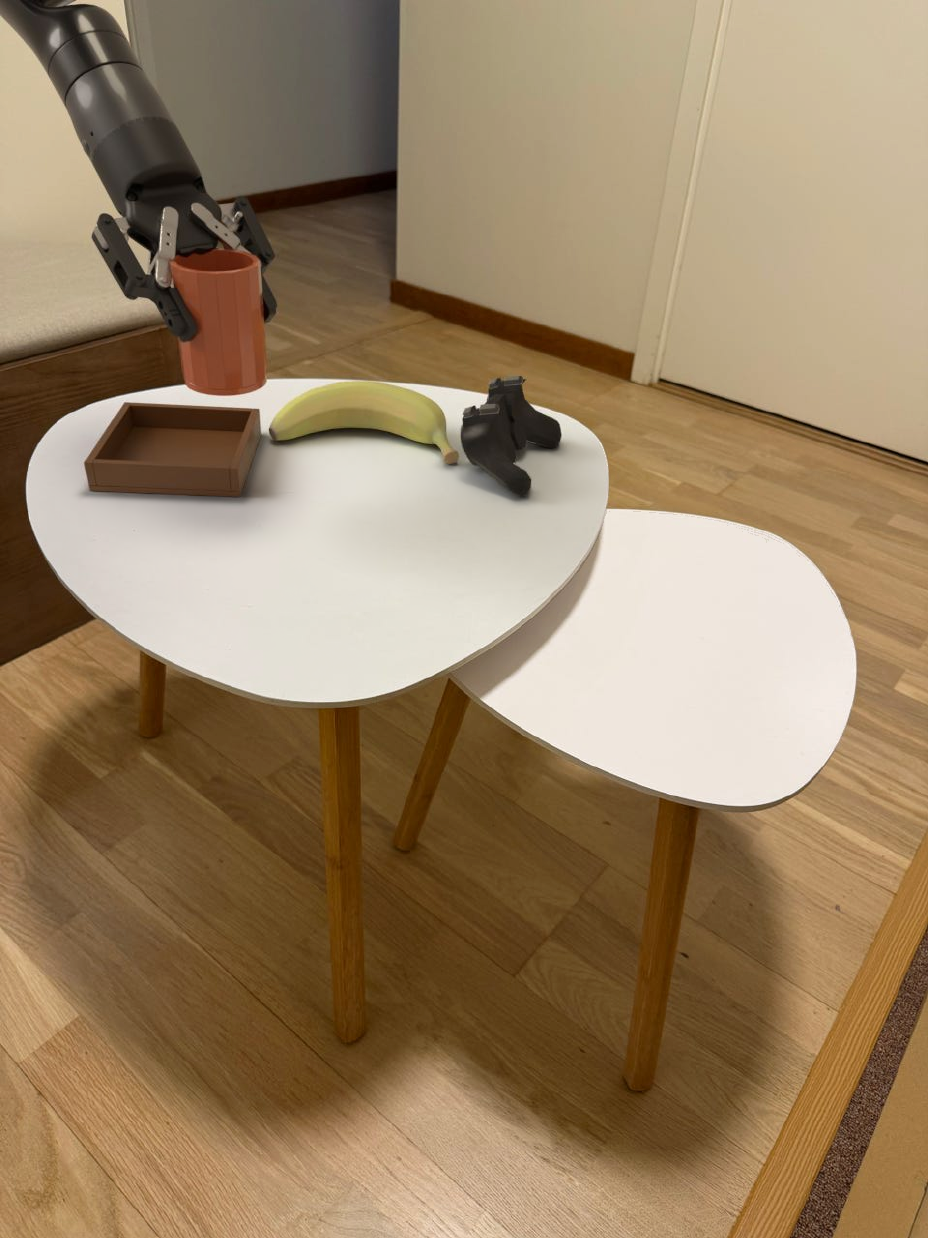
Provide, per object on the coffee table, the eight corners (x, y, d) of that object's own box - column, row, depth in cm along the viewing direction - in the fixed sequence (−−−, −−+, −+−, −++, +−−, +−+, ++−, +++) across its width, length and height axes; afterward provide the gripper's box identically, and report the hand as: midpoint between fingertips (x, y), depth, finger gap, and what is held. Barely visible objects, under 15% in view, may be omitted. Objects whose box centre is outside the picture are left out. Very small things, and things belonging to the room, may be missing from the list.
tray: (89, 490, 87) (83, 462, 86) (128, 428, 99) (124, 401, 97) (240, 497, 88) (237, 469, 87) (261, 434, 100) (259, 408, 98)
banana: (334, 347, 103) (484, 410, 98) (337, 386, 108) (481, 448, 102) (260, 412, 96) (417, 484, 90) (267, 450, 100) (417, 521, 95)
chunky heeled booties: (515, 452, 107) (484, 374, 103) (568, 438, 104) (538, 356, 99) (472, 513, 94) (435, 427, 90) (530, 499, 91) (494, 408, 87)
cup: (175, 393, 74) (159, 269, 68) (193, 362, 80) (180, 245, 74) (260, 398, 75) (252, 275, 69) (272, 366, 80) (265, 250, 74)
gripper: (59, 117, 65) (168, 321, 66) (225, 108, 74) (319, 288, 75) (39, 182, 71) (140, 368, 72) (195, 166, 80) (283, 332, 81)
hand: (231, 327), depth 73 cm, fingers closed on cup, 7 cm apart
